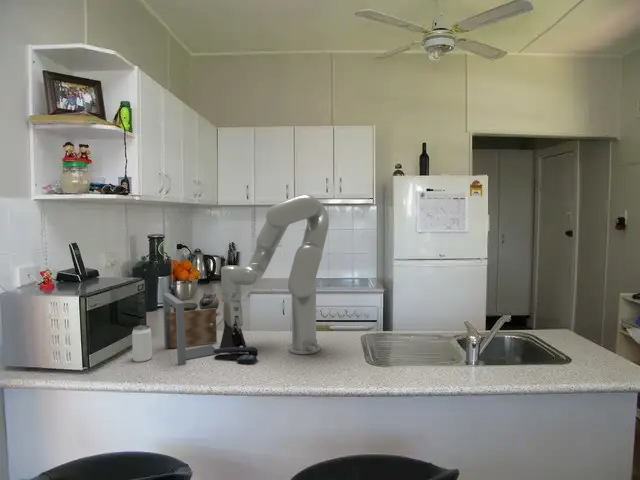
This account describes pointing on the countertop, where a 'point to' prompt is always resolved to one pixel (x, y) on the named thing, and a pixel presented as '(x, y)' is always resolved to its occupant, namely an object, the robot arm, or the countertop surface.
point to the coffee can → (189, 307)
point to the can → (141, 343)
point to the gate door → (193, 327)
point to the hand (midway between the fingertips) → (232, 341)
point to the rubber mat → (200, 352)
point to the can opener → (238, 354)
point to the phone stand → (230, 338)
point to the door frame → (180, 324)
